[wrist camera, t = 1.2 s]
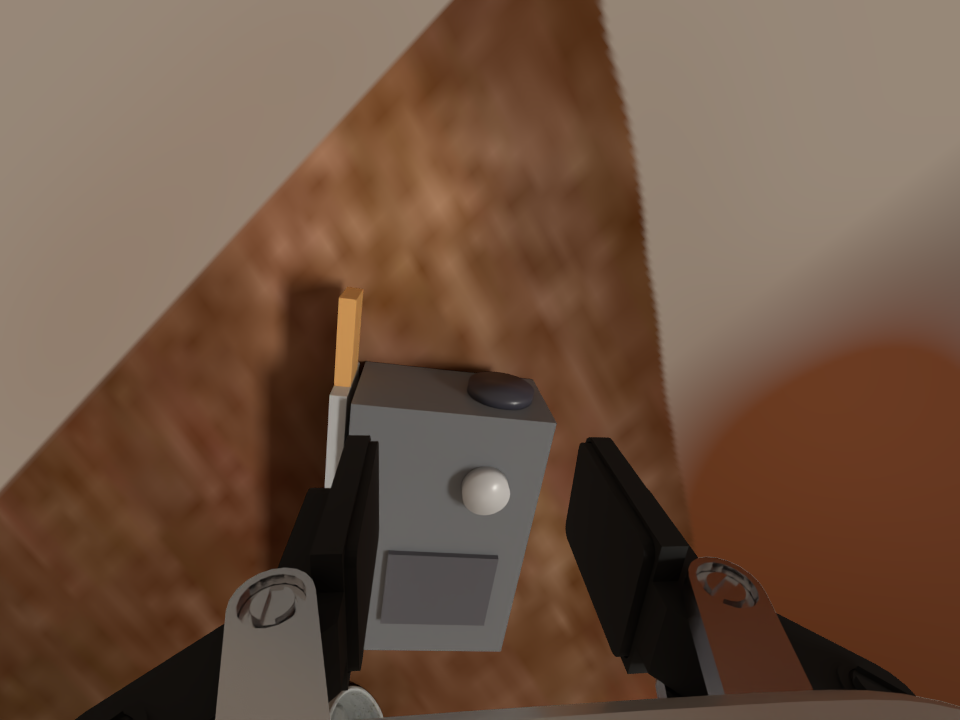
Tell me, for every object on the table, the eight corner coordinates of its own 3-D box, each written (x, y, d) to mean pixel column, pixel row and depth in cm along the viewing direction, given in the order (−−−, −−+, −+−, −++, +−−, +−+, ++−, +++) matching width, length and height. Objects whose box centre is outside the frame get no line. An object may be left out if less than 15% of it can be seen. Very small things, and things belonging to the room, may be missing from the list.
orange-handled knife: (345, 578, 31) (333, 638, 27) (329, 577, 31) (314, 638, 27) (368, 285, 25) (356, 306, 20) (347, 282, 24) (330, 302, 20)
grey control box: (489, 579, 33) (502, 664, 27) (348, 574, 32) (330, 662, 26) (534, 370, 28) (563, 420, 22) (366, 351, 26) (349, 399, 20)
